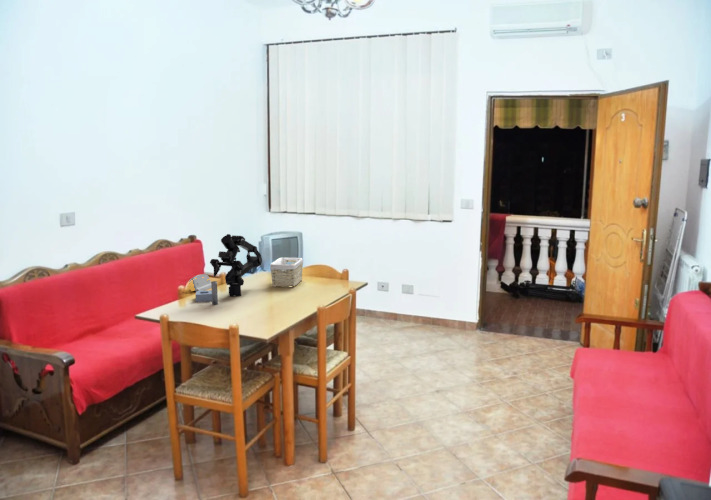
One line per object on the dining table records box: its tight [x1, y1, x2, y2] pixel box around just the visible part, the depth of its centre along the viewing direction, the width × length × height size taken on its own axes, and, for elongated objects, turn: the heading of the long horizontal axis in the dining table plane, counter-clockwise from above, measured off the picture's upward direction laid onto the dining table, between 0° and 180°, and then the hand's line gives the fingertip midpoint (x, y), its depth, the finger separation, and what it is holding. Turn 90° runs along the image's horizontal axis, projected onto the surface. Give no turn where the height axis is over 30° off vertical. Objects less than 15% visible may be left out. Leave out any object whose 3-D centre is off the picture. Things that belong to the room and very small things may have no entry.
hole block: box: [195, 289, 212, 303], centre depth 310 cm, size 9×9×4 cm
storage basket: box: [269, 257, 304, 288], centre depth 350 cm, size 24×16×15 cm
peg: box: [210, 280, 219, 306], centre depth 299 cm, size 3×3×12 cm
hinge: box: [188, 273, 212, 292], centre depth 334 cm, size 17×5×10 cm, turn 161°
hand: (221, 276), depth 305 cm, fingers open, 9 cm apart
